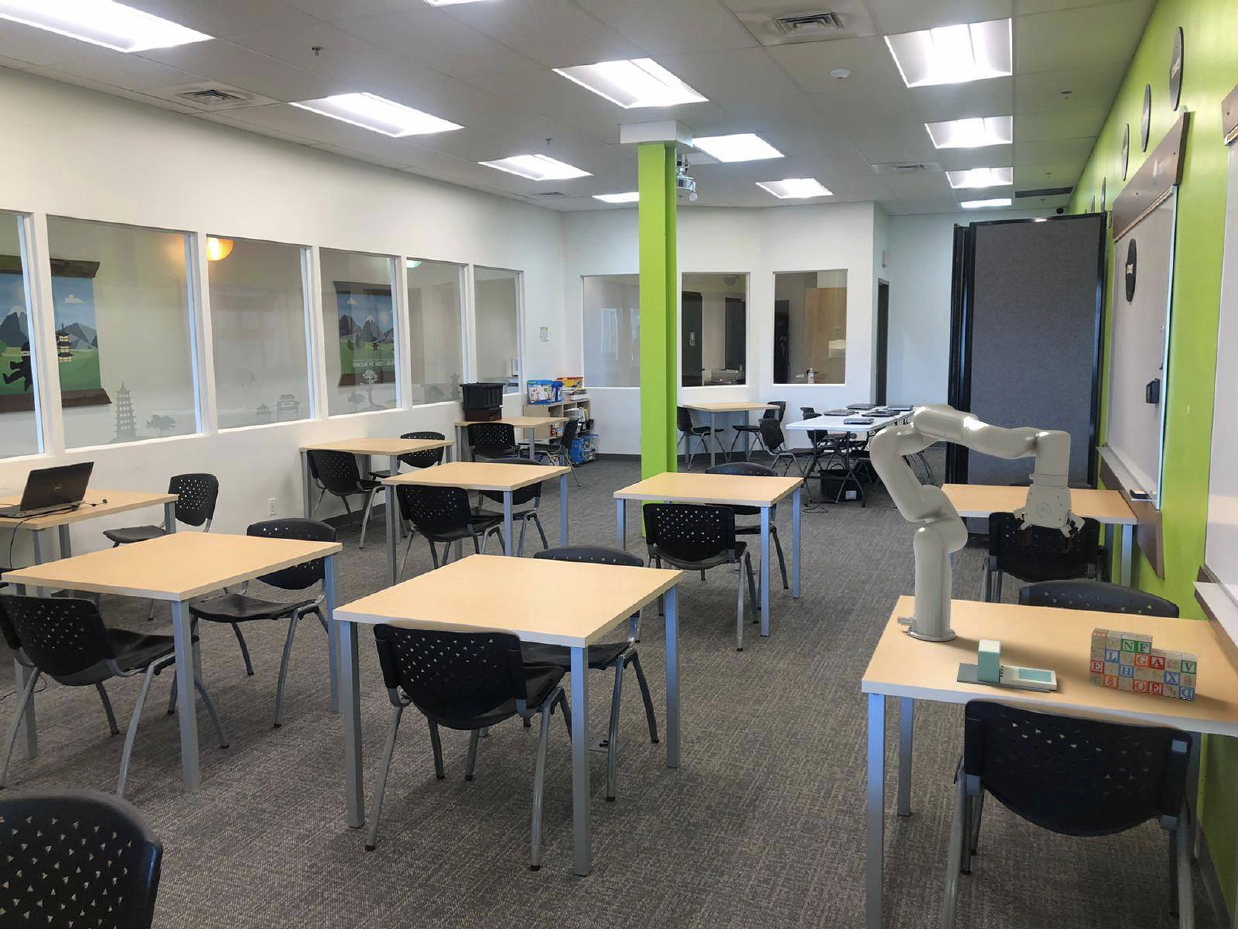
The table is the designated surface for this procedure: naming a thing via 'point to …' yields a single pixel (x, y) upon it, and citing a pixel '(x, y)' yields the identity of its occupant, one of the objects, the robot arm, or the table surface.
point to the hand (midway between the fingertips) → (1045, 548)
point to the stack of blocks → (1140, 665)
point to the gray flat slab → (1012, 677)
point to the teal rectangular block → (988, 660)
